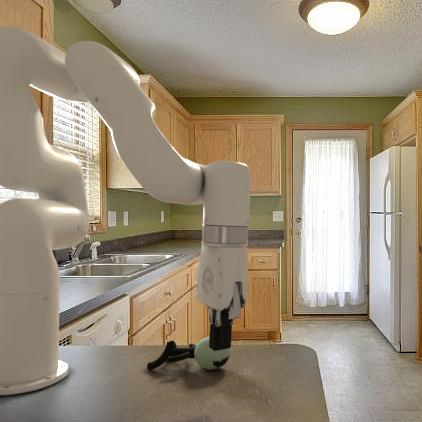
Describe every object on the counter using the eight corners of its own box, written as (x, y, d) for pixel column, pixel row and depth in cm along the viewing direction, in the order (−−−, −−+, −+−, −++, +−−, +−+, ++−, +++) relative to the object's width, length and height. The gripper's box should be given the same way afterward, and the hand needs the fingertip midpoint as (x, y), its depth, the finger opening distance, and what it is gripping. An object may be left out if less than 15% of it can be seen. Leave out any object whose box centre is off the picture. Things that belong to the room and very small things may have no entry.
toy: (143, 377, 69) (222, 376, 67) (142, 344, 70) (220, 342, 67) (168, 360, 79) (238, 359, 76) (167, 331, 79) (237, 329, 77)
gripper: (186, 233, 67) (181, 339, 67) (225, 240, 55) (219, 368, 55) (224, 234, 71) (220, 332, 71) (269, 240, 59) (263, 358, 59)
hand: (220, 348), depth 63 cm, fingers closed
